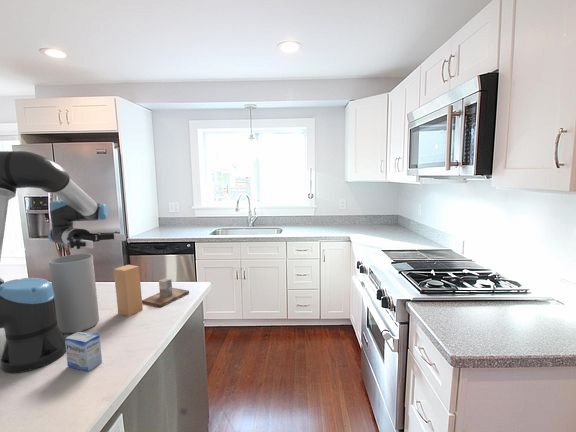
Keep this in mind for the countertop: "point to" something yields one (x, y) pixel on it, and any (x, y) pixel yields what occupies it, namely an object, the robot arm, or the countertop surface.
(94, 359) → the medicine box
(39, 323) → the robot arm
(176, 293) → the post board
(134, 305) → the tall wooden block
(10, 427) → the countertop surface
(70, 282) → the cylinder vase
